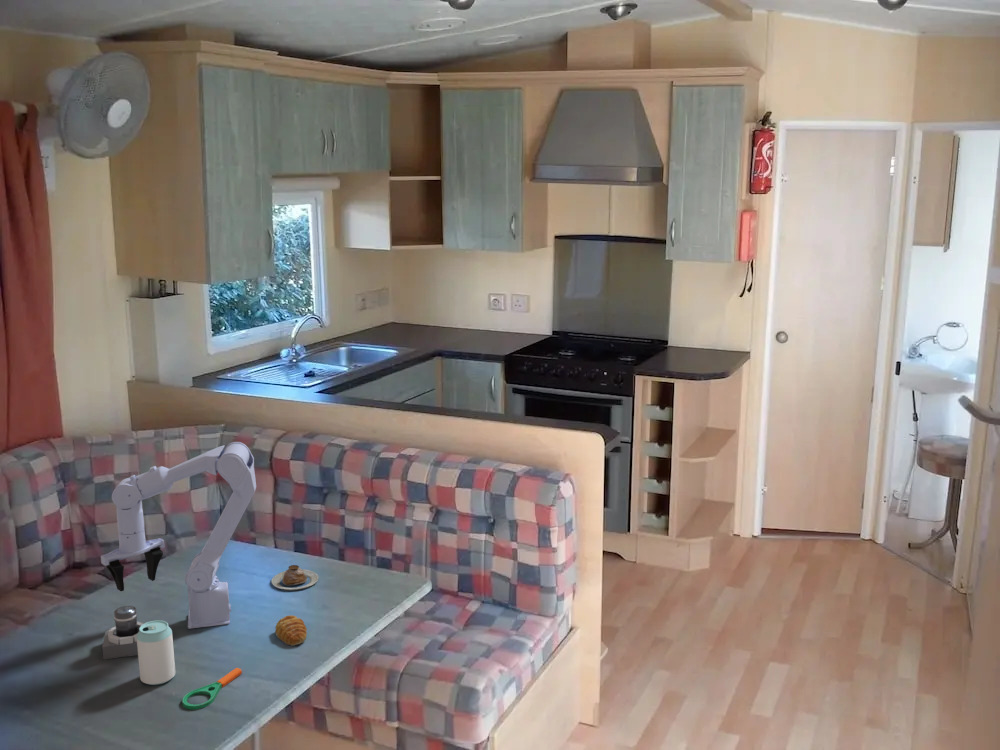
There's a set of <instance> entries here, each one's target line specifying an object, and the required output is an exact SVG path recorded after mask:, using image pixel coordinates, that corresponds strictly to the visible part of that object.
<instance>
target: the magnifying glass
mask: <svg viewBox="0 0 1000 750" xmlns="http://www.w3.org/2000/svg"><path fill="white" fill-rule="evenodd" d="M242 674H243V670H242V669H241V668H239V667H235V668H234V669H232V670H231V671H230V672H228V673H226V674H225V675H224V676H223V677H221V678H220V679H218V680H216V681H215V682H213V683H210V684H207V685H204V686H201V687H199V688H196V689H193V690H191V691H189V692H188V693H186V694H185V695H184V696H183V698H182V701H181V702H182V703H181V704H182V707H183V708H185V709H187V710H199V709H203V708H206V707H207V706H209V705H211V704H212V703H213V702H214V701H215V699H216V697H217V695H218V694H219V693H220V691H221V690H222V689H223V688H224V687H225V686H227V685H228V684H229V683H231V682H232V681H234V680H236V679H237V678H238V677H240V676H241V675H242ZM197 695H207V696H209V697H210V698H209V699H208V700H207V701H205V702H202V703H199V704H193V703H192V704H191V703H189V702H188V701H189V699H190V698H192V697H194V696H197Z"/></svg>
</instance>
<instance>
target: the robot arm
mask: <svg viewBox="0 0 1000 750" xmlns="http://www.w3.org/2000/svg"><path fill="white" fill-rule="evenodd" d="M204 472H207V473H209V474H211V475H213V476H217V475H218V474H219V475H220V476H221V477H222V478H223V479H224V480H225V482H227V484H228V485H229V487H230V489H231V490H232V493H231V495H230V497H229V499H228V501H227V503H226V505H225V506H224V509H223V511H222V512H221V514H220V516H219V517H218V520H217V522H216V524H215V525H214V527H213V529H212V532H211V533H210V535H209V537H208V539H207V541H206V543H205V544H204V547H203V548H202V550H201V551H200V552H198V553H197V554H195V555H194V557H193V559H192V561H191V564H190V566H189V568H188V570H187V571H186V573H185V575H184V582H185V584H186V586H187V599H188V609H189V610H188V618H187V629H188V630H189V629H191V630H192V629H197V628H198V629H199V628H207V627H213V626H223V625H229V624H230V623H231V618H230V617H231V612H232V608H231V607H232V605H231V603H230V598H229V584H228V582H227V581H220V579H219V578H218V576H217V575H216V573H217V572H218V570H219V568H220V560H221V557H222V555H223V554H224V552H225V550H226V547H227V546H228V544H229V542H230V539H231V538H232V536H233V534H234V533H235V531H236V529H237V528H238V525H239V523H240V521H241V519H242V517H243V516H244V513H246V510H247V508H248V507H249V504H250V502H251V501H252V498H253V496H254V494H255V493H256V489H257V483H256V481H257V480H256V479H257V478H256V474H255V473H256V472H255V457H254V456H253V454H252V452H251V450H250V448H249V447H248V446H247V445H246V444H245V443H243V442H241V441H232V442H230V443H228V444H227V445H221V446H220V445H219V446H218V447H216V448H213V449H210V450H207V451H206V452H203V453H201V454H200V455H199V454H198V455H197V456H195V457H193V458H190V459H188V460H186V461H183V462H181V463H179V464H176V465H175V466H172V467H170V468H168V467H165V466H162V465H161V466H158V467H157V466H156V465H154V466H151V467H150V468H149V470H148V471H146V472H143V473H141V474H138V475H135V474H132V475H131V476H130V477H127V478H124V479H122V480H121V481H120V482H119V483H118V484H117V486H116V487H115V488H114V490H112V494H111V500H112V503H113V504H114V506H115V507H116V508H115V509H116V523H117V525H116V526H117V533H118V534H117V535H118V542H119V543H118V545H119V547H118V548H116V549H113V550H112V551H110V552H108V553H105V554H102V555H100V562H101V563H100V564H102V565H103V566H105V567H106V568H107V570H108V571H109V573H110V575H111V576H112V579H113V580H114V584H115V586H116V589H117V591H120V592H124V590H125V582H124V570H125V566H124V565H123V564H121V561H122V560H125V559H129V558H132V557H135V556H139V555H142V554H144V558H145V562H146V563H145V564H146V572H147V578H148V579H149V581H152V582H154V581H155V580H156V576H157V570H158V567H159V565H160V564H159V563H160V561H161V560H162V557H163V556H164V554H163V553H164V551H163V550H161V549H165V540H164V539H163V538H161V537H159V538H155V539H149V540H146V532H145V530H146V529H145V519H144V511H143V502H142V501H143V500H146V499H150V498H151V497H154V496H157V495H159V494H162V493H165V492H167V491H169V490H172V488H173V486H174V483H175V482H179V481H181V480H184V479H186V478H189V477H193V476H195V475H198V474H201V473H204Z"/></svg>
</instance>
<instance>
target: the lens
mask: <svg viewBox="0 0 1000 750" xmlns="http://www.w3.org/2000/svg"><path fill="white" fill-rule="evenodd" d="M113 615H114V617H113V618H114V624H115V626H116V636H118V637H128V636H133V635H135V634H137V633H138V628H137V622H138V619H137V617H138V613H137V609H136V607H135V606H133V605H125V606H121V607H117V608H116V609H115V610H114V614H113Z"/></svg>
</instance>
